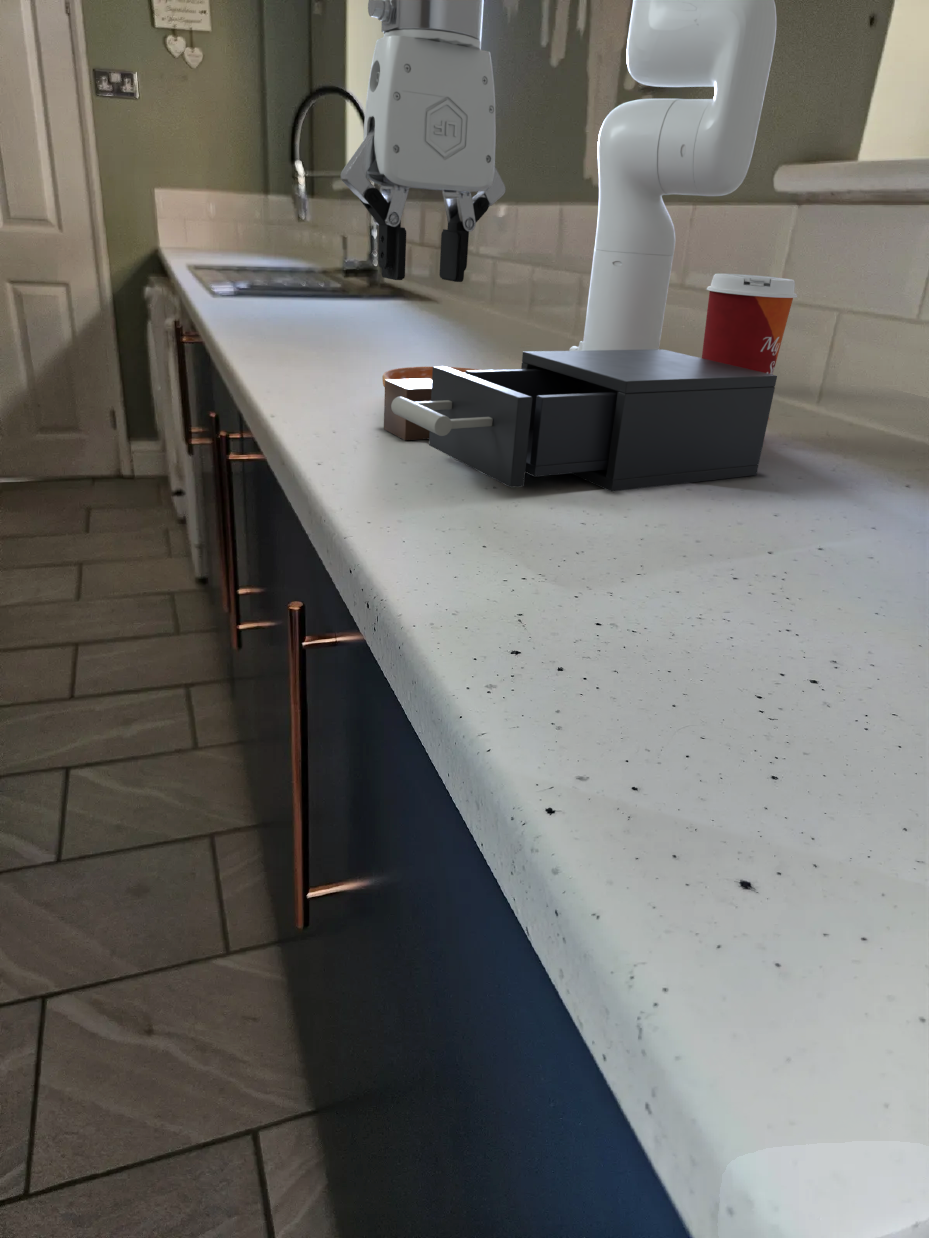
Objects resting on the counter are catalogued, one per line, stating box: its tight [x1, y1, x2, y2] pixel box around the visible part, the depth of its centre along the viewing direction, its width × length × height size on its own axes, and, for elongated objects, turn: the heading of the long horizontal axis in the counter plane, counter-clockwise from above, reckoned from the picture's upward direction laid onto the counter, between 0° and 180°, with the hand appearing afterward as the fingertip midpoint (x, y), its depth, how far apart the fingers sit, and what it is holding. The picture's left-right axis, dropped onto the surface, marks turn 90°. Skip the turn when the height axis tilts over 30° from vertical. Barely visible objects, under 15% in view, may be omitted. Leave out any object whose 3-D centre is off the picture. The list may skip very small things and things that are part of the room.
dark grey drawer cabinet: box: [520, 348, 778, 492], centre depth 74 cm, size 16×14×8 cm
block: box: [383, 379, 432, 442], centre depth 79 cm, size 4×4×4 cm
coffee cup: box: [701, 273, 798, 375], centre depth 84 cm, size 8×8×15 cm
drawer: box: [391, 365, 619, 488], centre depth 68 cm, size 20×13×6 cm, turn 120°
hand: (422, 277), depth 74 cm, fingers open, 4 cm apart
